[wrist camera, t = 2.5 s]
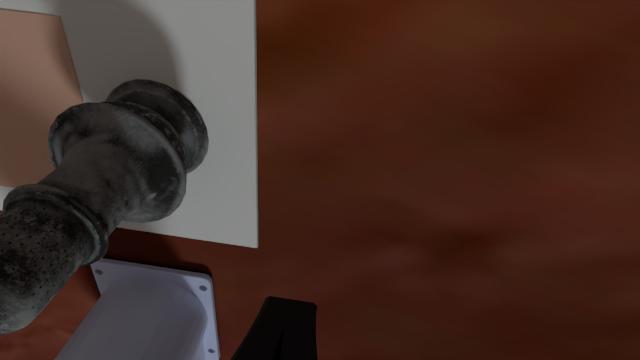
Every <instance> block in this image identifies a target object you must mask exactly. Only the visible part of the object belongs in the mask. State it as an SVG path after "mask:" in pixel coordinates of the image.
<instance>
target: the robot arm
mask: <svg viewBox="0 0 640 360" xmlns="http://www.w3.org/2000/svg"><path fill="white" fill-rule="evenodd" d="M90 266H91V269H92V271H93V274H94V277H95V280H96V283H97V286H98V288H99V291H100V294H101V297H100V298H99V299H98V301H97V302H96V303H95V305H94V306H93V307H92V309H91V310H90V312H89V313H88V314H87V316H86V317H85V318H84V320H83V321H82V323H81V324H80V325H79V327H78V328H77V329H76V331H75V332H74V333H73V335H72V336H71V338H70V339H69V340H68V342H67V343H66V344H65V346H64V347H63V349H62V350H61V351H60V353H59V354H58V355H57V357H56V358H55V359H54V360H219V358H220V349H219V340H218V331H217V322H216V312H215V303H214V294H213V285H212V279H211V277H210V276H209V275H207V274H203V273H197V272H190V271H184V270H177V269H171V268H164V267H158V266H151V265H145V264H138V263H131V262H125V261H118V260H112V259H105V258H101V259H100V260H99V261H98V262H96V263H93V264H91V265H90ZM316 311H317V306H316V305H315V304H314V303H311V302H304V301H298V300H291V299H285V298H279V297H272V296H269V297H267V298H266V299H265V301H264V303H263V306H262V308H261V310H260V312H259V314H258V316H257V317H256V319H255V321H254V323H253V325H252V326H251V328H250V330H249V331H248V333H247V335H246V336H245V338H244V340H243V341H242V343H241V345H240V346H239V348H238V349H237V351H236V352H235V354H234V355H233V357H232V358H231V360H317V348H316Z"/></svg>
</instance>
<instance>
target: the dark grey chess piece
mask: <svg viewBox="0 0 640 360" xmlns="http://www.w3.org/2000/svg"><path fill="white" fill-rule="evenodd" d="M208 143H209V138H208V133H207V127H206V125H205V123H204V121H203V119H202V116H201V114H200V113H199V112H198V110H197V109H196V108H195V106H194V105H193V104H192V103H191V102H190V101H189V100H188V99H187V98H186V97H185V96H183V95H182V94H181V93H180V92H179V91H177V90H175V89H173V88H171V87H170V86H168V85H166V84H163V83H160V82H156V81H153V80H145V79H135V80H131V81H127V82H123V83H122V84H120V85H119V86H117V87H116V88H114V89H113V90H112V91H111V92H110V94H109V95H108V97H107V98H106V100H105V102H100V103H92V102H87V103H83V104H78V105H74V106H71V107H69V108H68V109H66V110H65V111H64V112H62V113H61V114H59V115H58V116H57V117H56V119H55V120H54V122H53V124H52V125H51V127H50V131H49V137H48V146H49V153H50V158H51V160H52V163H53V165H54V167H55V170H54V171H52V172H51V173H50V174H48V175H47V176H46V177H45V178H43V179H42V180H41V181H39V182H38V183H37V184H26V185H21V186H18V187H16V188H15V189H13V190H12V191H10V192H9V193H8V194H7V196H6V197H5V199H4V200H3V209H2V210H3V214H2V215H0V334H7V333H10V332H13V331H16V330H19V329H21V328H24V327H26V326H27V325H28V324H29V323H31V322H32V321H33V320H34V319H35V318H36V317H37V316H38V315H39V314H40V313H41V312H42V310H43V309H44V308H45V307H46V306H47V305H48V303H49V302H50V301H51V300H52V299H53V298H54V296H55V295H56V294H57V293H58V292H59V291H60V289H61V288H62V287H63V286H64V285H65V283H66V282H67V281H68V280H69V279H70V278H71V276H72V275H73V274H74V273H75V272H76V271H77V269H78V268H79V267H80V266H86V265H91V264H93V263H96V262H98V261H99V260H100V259H101V258H102V257H103V256H104V255H105V254H106V252H107V249H108V247H109V239H108V236H109V235H110V234H111V233H112V232H113V230H114V229H115V228H116V227H117V226H118V225H119V223H120V222H121V221H122V220H123V221H126V222H137V223H146V222H153V221H159V220H161V219H163V218H165V217H167V216H170V215H171V214H172V213H173V212H174V211H175V210H176V209H177V208H178V207H179V206H180V204H181V202H182V200H183V198H184V196H185V194H186V182H187V179H186V178H187V174H188V173H190V172H192V171H194V170H195V169H196V168H197V167H198V166H199V165H200V164H201V163H202V162H203V160H204V158H205V156H206V154H207V152H208Z"/></svg>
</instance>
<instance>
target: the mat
mask: <svg viewBox="0 0 640 360" xmlns="http://www.w3.org/2000/svg"><path fill="white" fill-rule="evenodd" d="M135 79H145V80H153V81H156V82H160V83H163V84H166V85H168V86H170V87H171V88H173V89H175V90H177V91H179V92H180V93H181V94H182V95H183V96H185V97H186V98H187V99H188V100H189V101H190V102H191V103H192V104H193V105H194V106H195V108H196V109H197V110H198V112H199V113H200V114H201V116H202V119H203V121H204V123H205V125H206V127H207V133H208V138H209V143H208V152H207V154H206V156H205V158H204V160H203V162H202V163H201V164H200V165H199V166H198V167H197V168H196V169H195V170H194V171H192V172H190V173H188V174H187V178H186V179H187V182H186V194H185V196H184V198H183V200H182V202H181V204H180V206H179V207H178V208H177V209H176V210H175V211H174V212H173V213H172V214H171V215H170V216H167V217H165V218H163V219H161V220H159V221H153V222H146V223H137V222H126V221H123V220H122V221H121V222H120V223H119V225H118V226H117V227H118V228H125V229H132V230H138V231H145V232H152V233H159V234H165V235H172V236H179V237H186V238H192V239H199V240H206V241H213V242H219V243H226V244H233V245H240V246H246V247H253V248H257V247H258V164H257V62H256V0H0V210H2V209H3V200H4V199H5V197H6V196H7V194H8V193H9V192H10V191H12V190H13V189H15V188H16V187H18V186H21V185H26V184H37V183H38V182H39V181H41V180H42V179H43V178H45V177H46V176H47V175H48V174H50V173H51V172H52V171H54V170H55V167H54V165H53V163H52V160H51V158H50V153H49V146H48V137H49V131H50V127H51V125H52V124H53V122H54V120H55V119H56V117H57V116H58V115H59V114H61V113H62V112H64V111H65V110H66V109H68V108H69V107H71V106H74V105H78V104H83V103H87V102H92V103H100V102H105V100H106V98H107V97H108V95H109V94H110V92H111V91H112V90H113V89H114V88H116V87H117V86H119V85H120V84H122V83H123V82H127V81H131V80H135Z"/></svg>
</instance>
